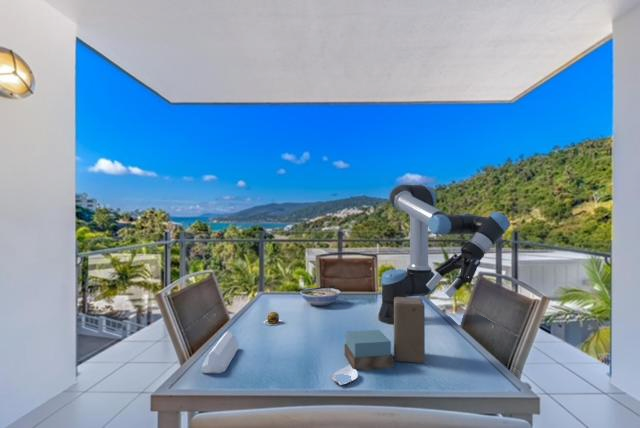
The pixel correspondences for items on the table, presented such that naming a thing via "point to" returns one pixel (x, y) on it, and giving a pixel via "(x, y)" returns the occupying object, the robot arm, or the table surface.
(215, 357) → the crystal
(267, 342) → the table surface
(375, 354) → the grey teal block
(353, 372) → the pale veined leaf
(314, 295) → the ramen bowl
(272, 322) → the hamburger
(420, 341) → the wooden block
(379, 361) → the tower base
